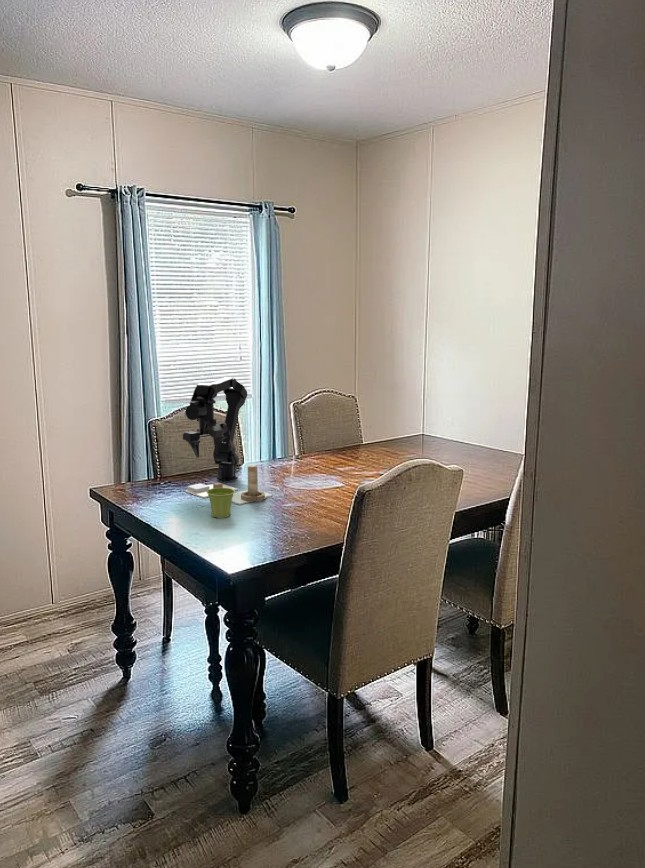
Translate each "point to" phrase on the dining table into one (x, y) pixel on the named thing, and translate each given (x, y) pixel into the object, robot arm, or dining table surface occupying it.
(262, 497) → the board
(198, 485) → the tile
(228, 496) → the plant pot
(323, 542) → the dining table surface
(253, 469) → the dowel
